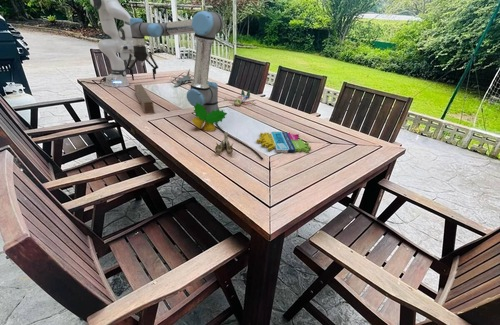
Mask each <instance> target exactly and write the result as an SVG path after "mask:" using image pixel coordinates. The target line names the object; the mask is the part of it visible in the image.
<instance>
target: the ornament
mask: <svg viewBox="0 0 500 325" xmlns="http://www.w3.org/2000/svg"><path fill="white" fill-rule="evenodd" d="M219 110H220V108H219V109H217V110H216V111H214V110H212V112H211V113H208V112H206V109H204V106H201V104H198V103H197V102H196V106H193V112H194V113H195V118H192V119H191V122H192V123H193V125H195V127H197V128H198V129H202V130H203V131H206V132H212V131H213V132H214V131H215V130H216V126H215V124H216V123H217V124H218V123H219V122H223V119H226V115H227V114H228V113H227V112H224V110H223V109H221V110H220V111H219ZM207 113H208V115H207ZM214 123H215V124H214Z"/></svg>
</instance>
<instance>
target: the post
mask: <svg viewBox="0 0 500 325" xmlns="http://www.w3.org/2000/svg"><path fill="white" fill-rule="evenodd" d="M133 86H134V94H135V96H136V98H137V99H138V101H139V104H140V105H141V108H142V109H143V111H144V114H154V113H155V111H154V103H153V101H152V99H151V97H150V96H149V94H148V93H147V91H146V89H145V88H144V86H143V84H142V83H140V84H134V85H133Z"/></svg>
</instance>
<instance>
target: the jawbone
mask: <svg viewBox="0 0 500 325" xmlns="http://www.w3.org/2000/svg"><path fill="white" fill-rule="evenodd" d="M224 132H225V133H223V135H224V136H223V140H222V139H221V142H220V144H218V142H215V144H216V146H215V148H214V149H215V152H214V154H215V155H217V156H218V155H220V153H221V152H223V151H224V150H226V152H227V153H228V155H229V156H233V155H234V154H233V153H234V148H233V144H234V143H230V140H228V139H229V138H228V137H229V136H228V134H229V133H228V131H224Z"/></svg>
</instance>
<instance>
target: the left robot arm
mask: <svg viewBox="0 0 500 325" xmlns="http://www.w3.org/2000/svg"><path fill="white" fill-rule="evenodd" d="M89 2H90V4H91V6H92V7H93V9H96V10H98V11H97V12H98V17H99V21H100V22H99V23H100V25H101V29H102V31H103V33H104V34H106V35H107V36H109V37H110V38H105V39H100V40H99V41H98V43H97V47H98V49H99V51H100V52H101V53H103V54H104V55H105V56H106V58H108V60H109V63H110V68H111V69H109V72H110V74H109V75H107V76H103V77H102V78H101V79H100V81H99V82H90V81H86V80H81V81H79V83H80V84H81V83H87V84H91V85H92V84H93V85H101V84H102V82H103V86H106V87H107V86H108V87H112V88H123V87H128V86H130V82H129V80H128V76H127V69H126V65H125V62H126V63H127V62H128V59H129V53H131V54H134V48H133V46H134V45H133V41H132V34H131V28H130V18H134V17H133V16H132V14H131V13H130V12H129V11H128V10H126V9H125V8H124V7H123V6H122V4H121V0H89ZM115 19H117V20H121V21H124V23H123V26H121V27H119V28H117V24H116V21H115ZM146 52H147V54H149V48H146ZM117 54H119V55H120V56H117ZM146 59H147V60H148V61H149V59H150V57H149V56H147V58H146ZM134 60H135V57H134V56H133V57H132V58H131V61H134ZM144 63H145V61H141V63H140V65H141V67H144ZM130 65H131V63H130V64H129V67H130Z"/></svg>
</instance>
